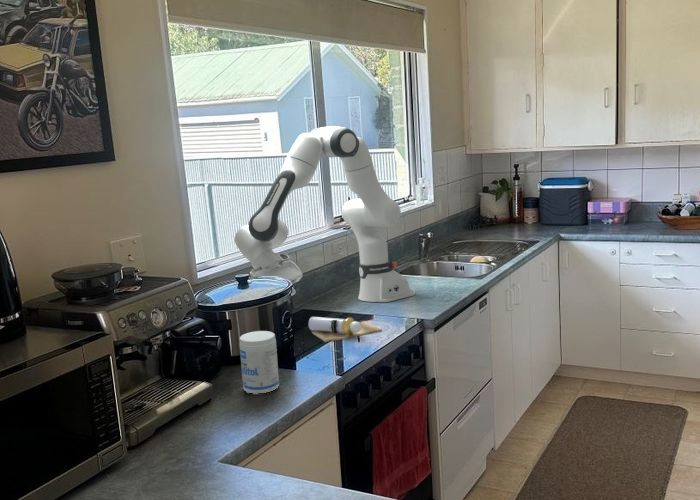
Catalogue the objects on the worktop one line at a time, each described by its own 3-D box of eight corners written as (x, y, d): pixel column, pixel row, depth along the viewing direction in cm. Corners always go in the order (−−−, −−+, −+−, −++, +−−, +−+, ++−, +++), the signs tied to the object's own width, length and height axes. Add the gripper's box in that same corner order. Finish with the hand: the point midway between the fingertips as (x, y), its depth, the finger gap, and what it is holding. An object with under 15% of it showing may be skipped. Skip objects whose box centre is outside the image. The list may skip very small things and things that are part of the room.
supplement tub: (236, 393, 182) (231, 340, 179) (255, 380, 190) (250, 329, 188) (268, 397, 178) (263, 342, 175) (286, 383, 186) (281, 331, 184)
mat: (366, 322, 238) (366, 321, 238) (381, 331, 227) (381, 329, 227) (312, 333, 231) (311, 331, 230) (325, 342, 220) (325, 340, 220)
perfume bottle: (315, 313, 234) (364, 316, 223) (316, 330, 235) (365, 334, 223) (305, 316, 229) (354, 319, 218) (306, 333, 230) (355, 338, 218)
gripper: (252, 265, 229) (277, 296, 226) (290, 253, 246) (314, 282, 242) (243, 277, 233) (268, 308, 229) (281, 265, 249) (305, 293, 245)
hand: (292, 294), depth 236 cm, fingers closed
